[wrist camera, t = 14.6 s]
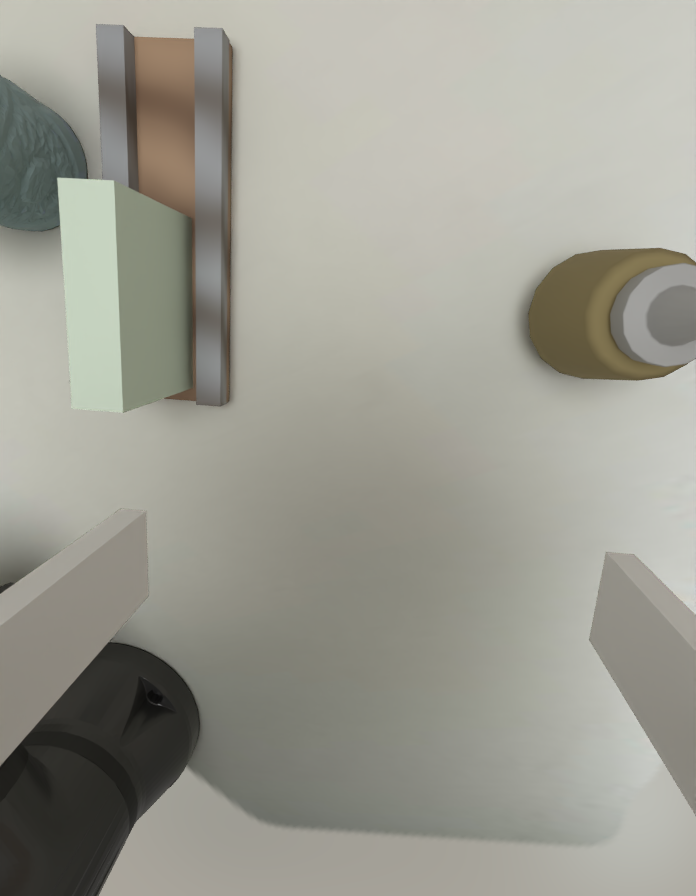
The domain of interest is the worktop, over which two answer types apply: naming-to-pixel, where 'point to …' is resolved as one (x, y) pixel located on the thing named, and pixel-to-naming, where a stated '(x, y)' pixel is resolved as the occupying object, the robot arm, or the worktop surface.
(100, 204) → the door panel
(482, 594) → the worktop surface
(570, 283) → the squeeze bottle
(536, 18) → the worktop surface
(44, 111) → the teal cup
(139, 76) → the track base
